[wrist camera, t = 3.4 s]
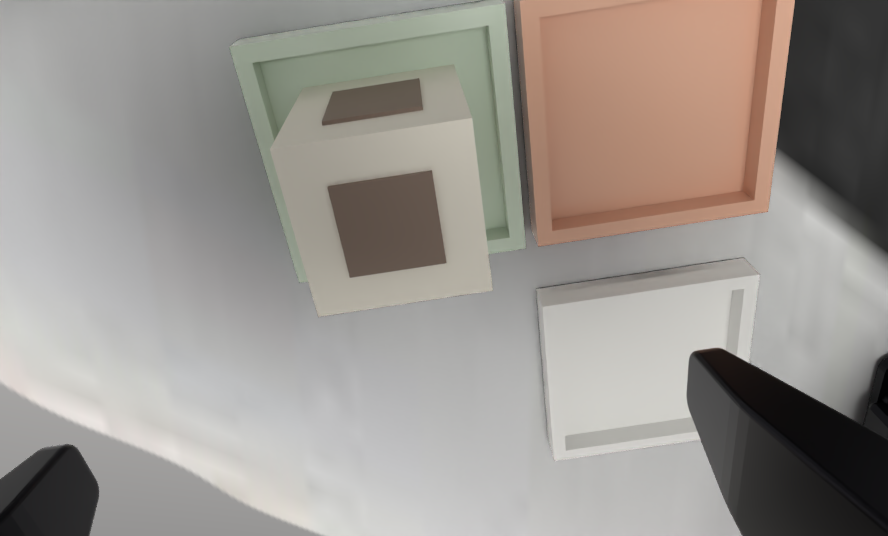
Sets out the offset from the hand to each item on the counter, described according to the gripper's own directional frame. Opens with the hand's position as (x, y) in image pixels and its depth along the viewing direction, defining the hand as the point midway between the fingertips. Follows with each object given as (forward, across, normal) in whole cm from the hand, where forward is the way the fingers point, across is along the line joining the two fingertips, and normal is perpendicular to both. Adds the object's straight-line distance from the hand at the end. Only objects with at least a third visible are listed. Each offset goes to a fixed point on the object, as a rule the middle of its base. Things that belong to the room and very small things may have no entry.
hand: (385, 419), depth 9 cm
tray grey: (+12, -8, +10) cm, 18 cm away
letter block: (+12, 0, 0) cm, 12 cm away
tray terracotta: (+12, -8, 0) cm, 15 cm away
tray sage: (+12, 0, 0) cm, 13 cm away
